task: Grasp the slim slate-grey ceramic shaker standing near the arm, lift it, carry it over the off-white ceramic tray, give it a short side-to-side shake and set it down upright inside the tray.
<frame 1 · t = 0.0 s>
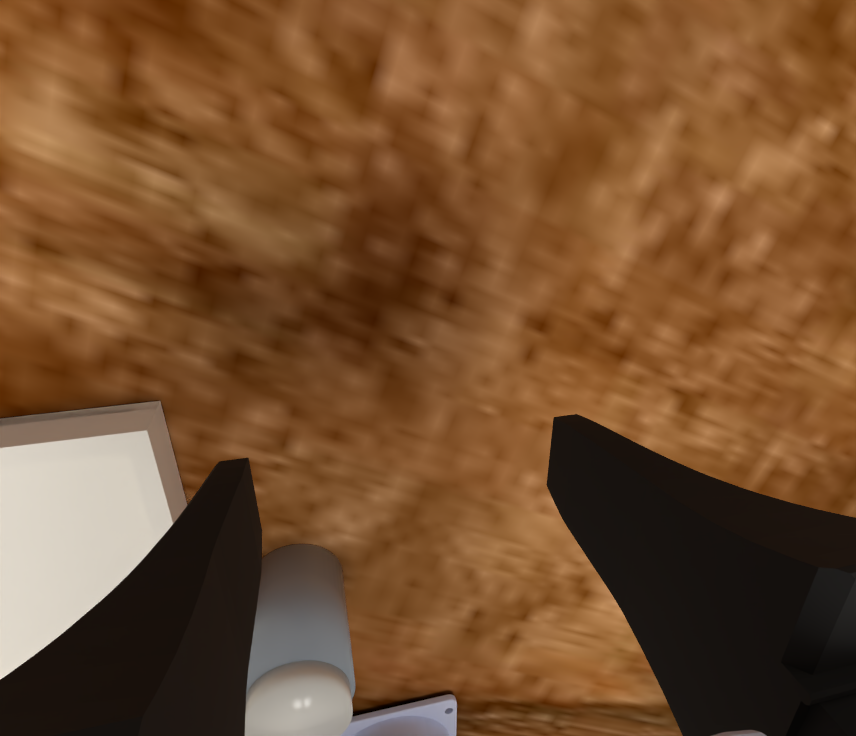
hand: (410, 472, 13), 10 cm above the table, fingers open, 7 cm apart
tray: (46, 562, 23), on the table
shaker: (297, 579, 27), on the table
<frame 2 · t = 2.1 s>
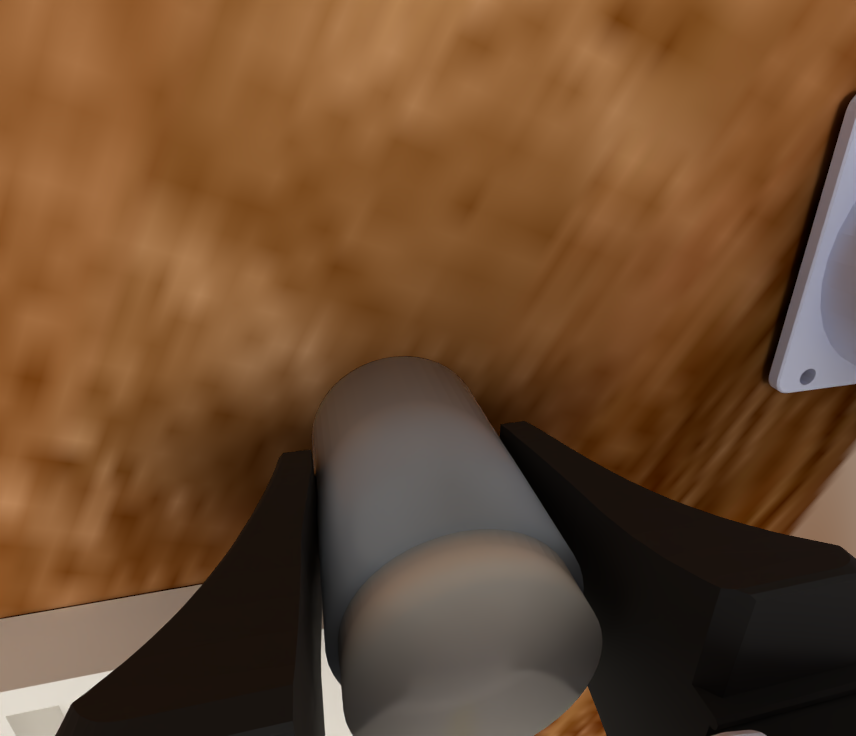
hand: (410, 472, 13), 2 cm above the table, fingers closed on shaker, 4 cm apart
tray: (303, 705, 18), on the table
shaker: (397, 433, 14), on the table, touching gripper
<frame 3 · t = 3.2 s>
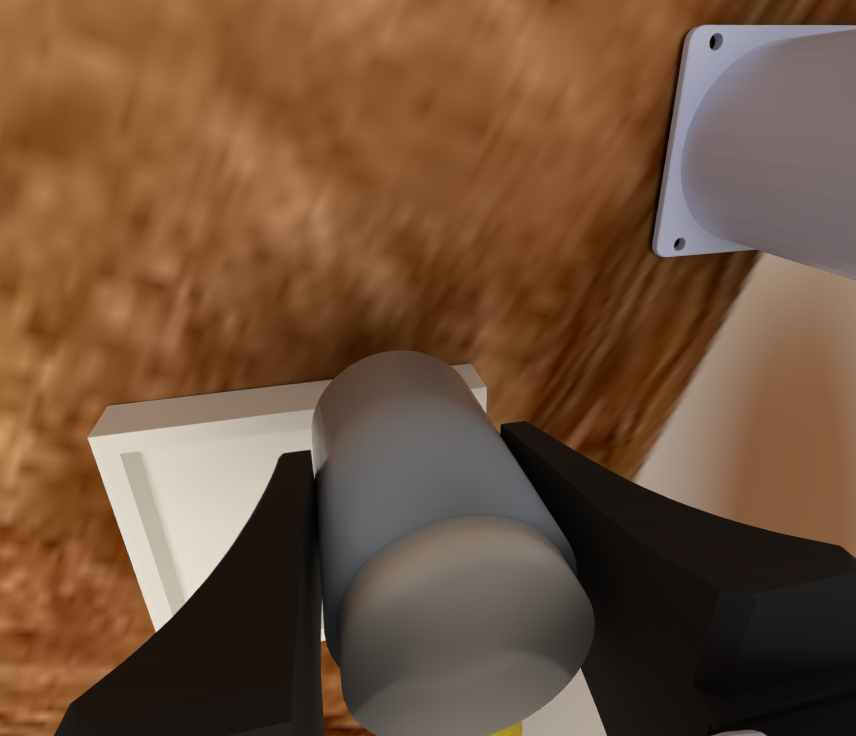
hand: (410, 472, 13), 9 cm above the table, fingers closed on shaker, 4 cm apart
tray: (316, 503, 24), on the table
shaker: (395, 426, 14), point 7 cm above the table, touching gripper
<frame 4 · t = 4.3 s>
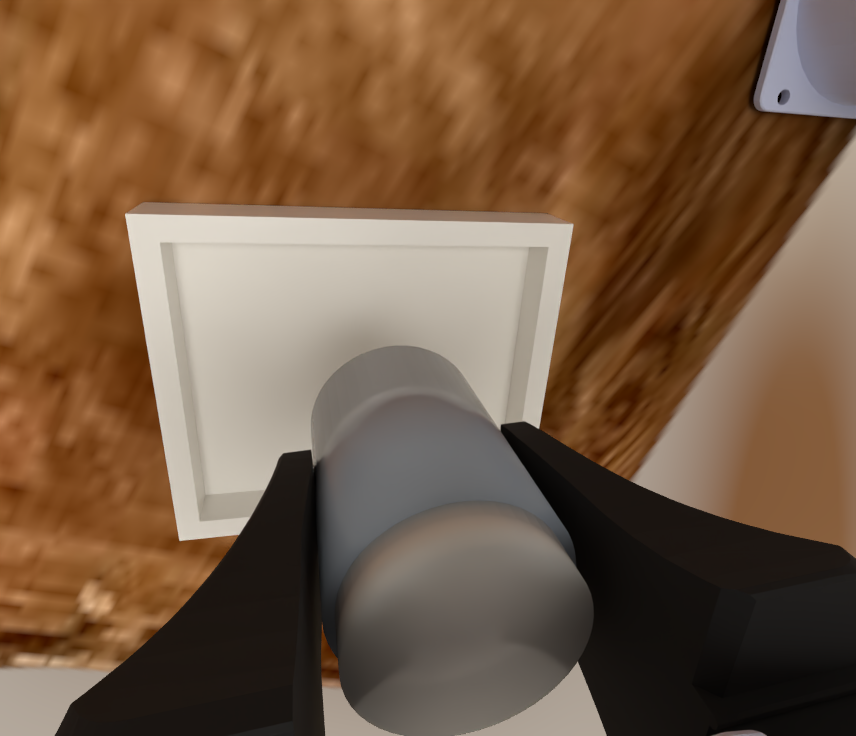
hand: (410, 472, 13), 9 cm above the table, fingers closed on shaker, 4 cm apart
tray: (360, 364, 22), on the table
shaker: (395, 422, 14), point 7 cm above the table, touching gripper
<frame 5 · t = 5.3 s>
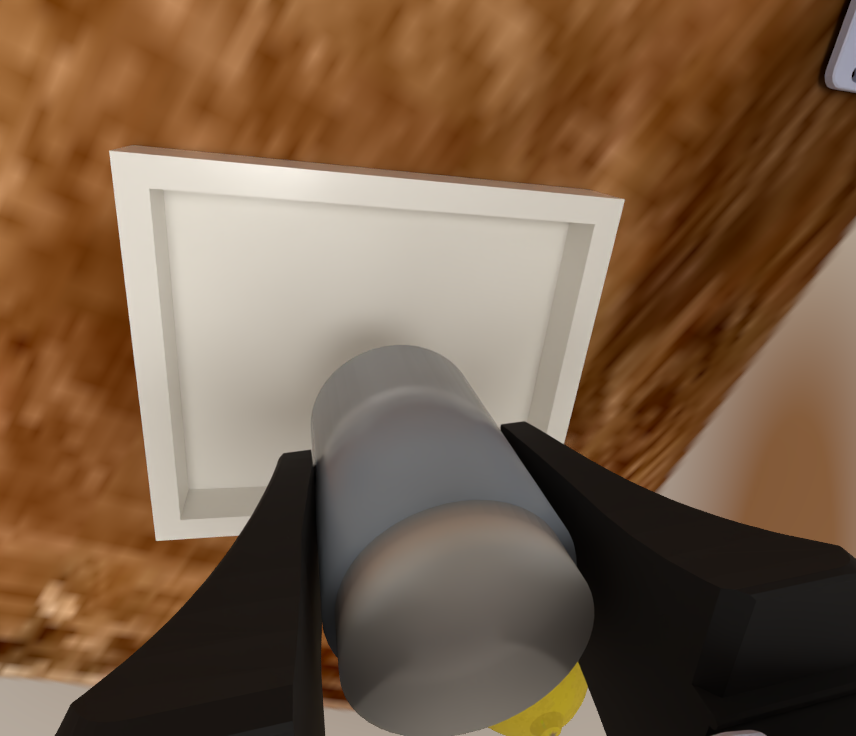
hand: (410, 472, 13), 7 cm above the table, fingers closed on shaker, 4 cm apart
lemon: (476, 552, 25), on the table
tray: (371, 349, 19), on the table
shaker: (395, 421, 14), point 5 cm above the table, touching gripper
when the fingers open (3 cm above the table, at t = 6.4 s): shaker stays where it is, resting on tray.
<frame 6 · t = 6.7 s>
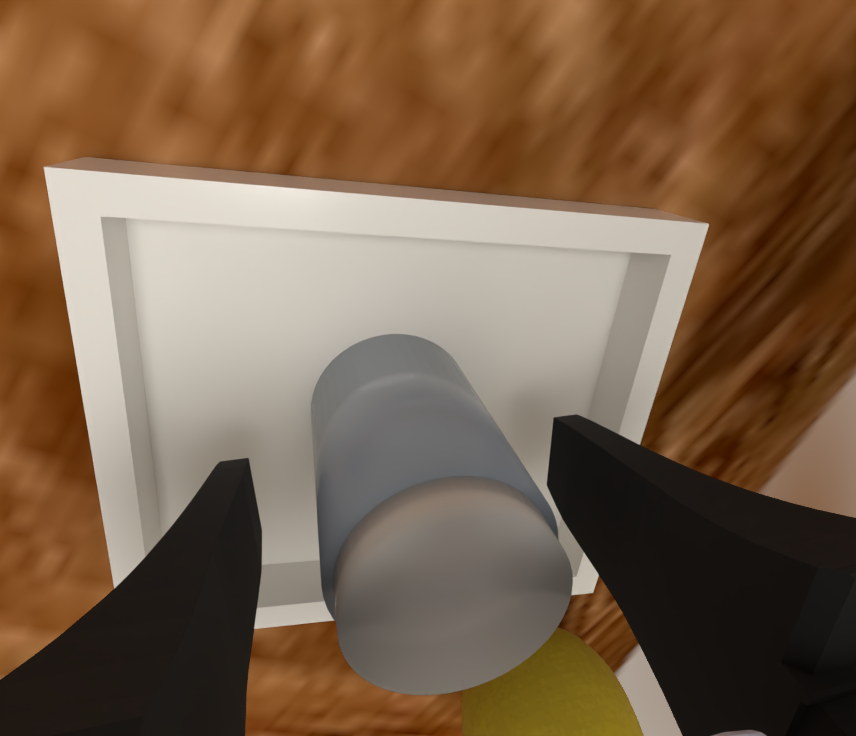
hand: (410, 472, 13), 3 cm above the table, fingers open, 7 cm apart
lemon: (505, 623, 21), on the table
tray: (387, 402, 16), on the table
shaker: (391, 407, 15), point 1 cm above the table, touching tray
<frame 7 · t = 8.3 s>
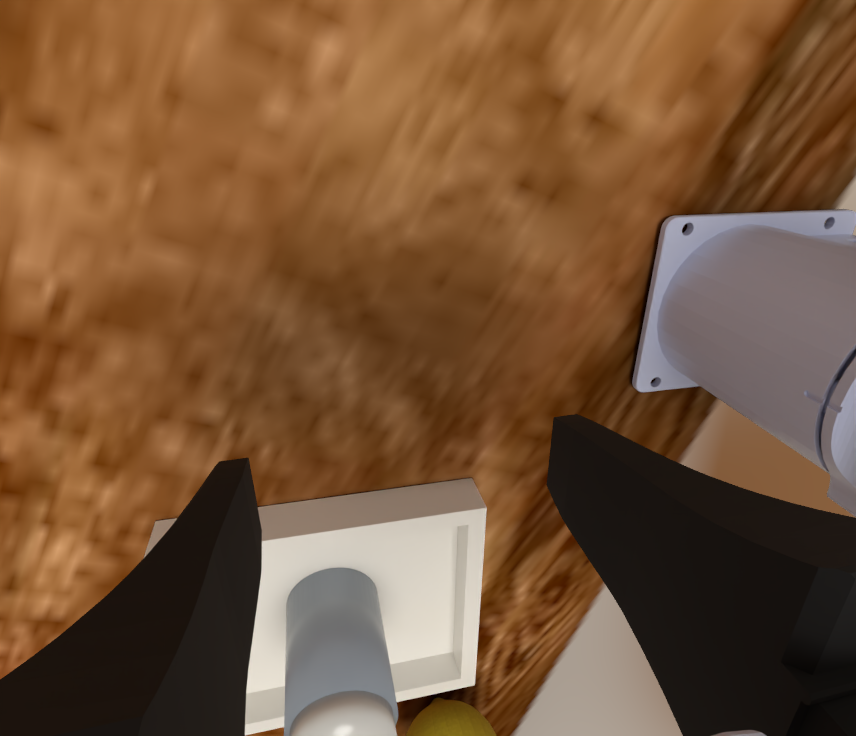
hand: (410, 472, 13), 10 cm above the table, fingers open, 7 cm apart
lemon: (435, 696, 33), on the table
tray: (332, 594, 27), on the table
shaker: (332, 602, 26), point 1 cm above the table, touching tray
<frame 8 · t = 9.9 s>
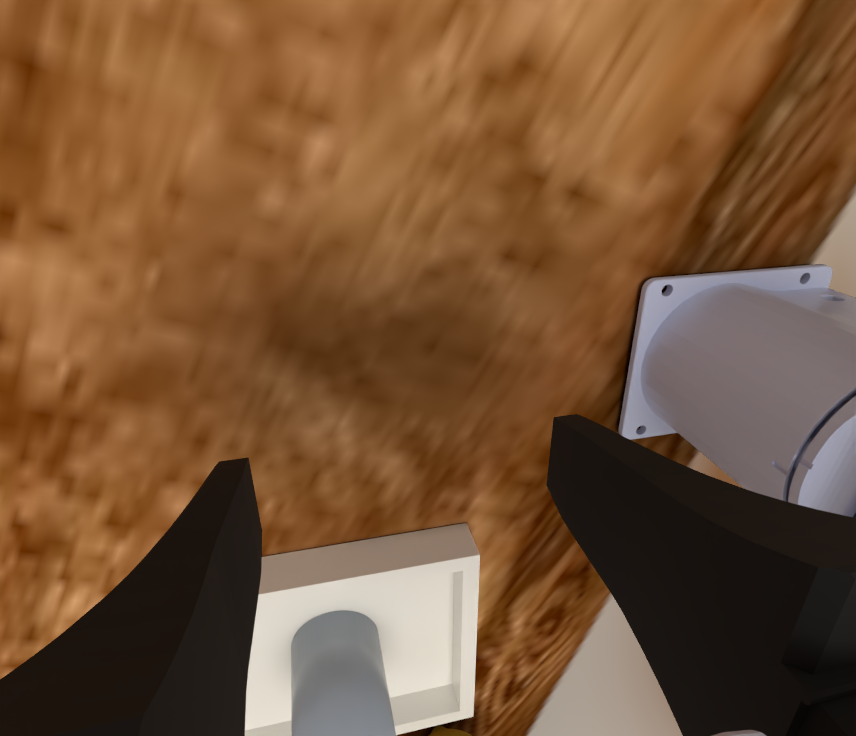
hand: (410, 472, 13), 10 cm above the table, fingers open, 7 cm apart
lemon: (437, 723, 34), on the table
tray: (334, 634, 28), on the table
shaker: (335, 642, 28), point 1 cm above the table, touching tray
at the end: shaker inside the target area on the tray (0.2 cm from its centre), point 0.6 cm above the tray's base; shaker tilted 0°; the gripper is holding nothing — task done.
